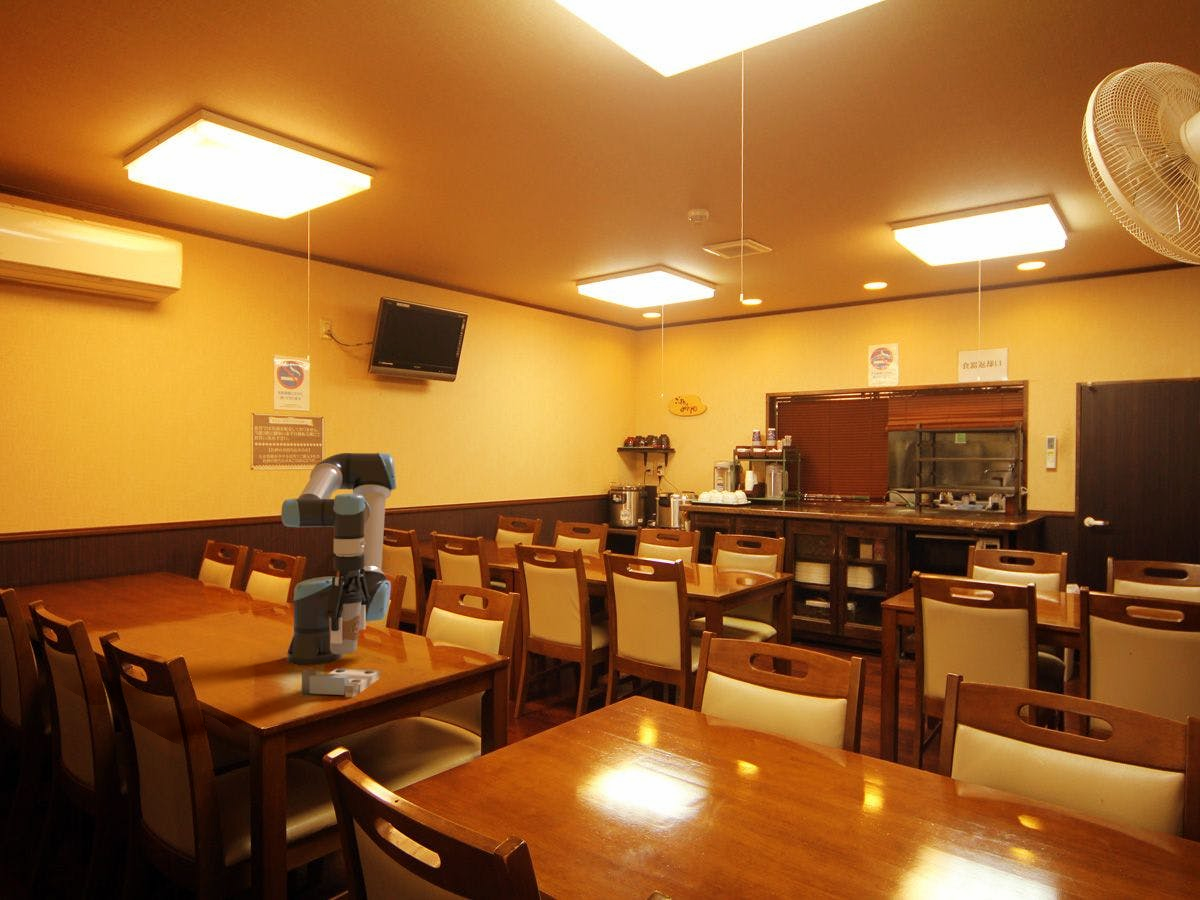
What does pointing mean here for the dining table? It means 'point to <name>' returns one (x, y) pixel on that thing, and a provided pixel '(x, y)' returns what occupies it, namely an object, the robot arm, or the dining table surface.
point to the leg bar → (323, 683)
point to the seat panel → (354, 680)
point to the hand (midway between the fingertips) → (348, 636)
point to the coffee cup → (348, 623)
